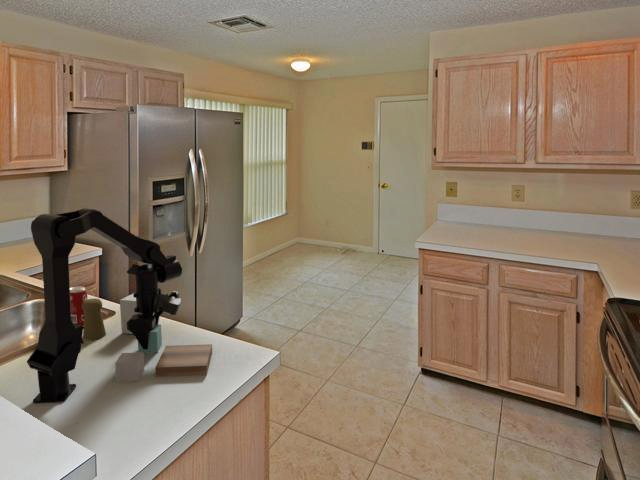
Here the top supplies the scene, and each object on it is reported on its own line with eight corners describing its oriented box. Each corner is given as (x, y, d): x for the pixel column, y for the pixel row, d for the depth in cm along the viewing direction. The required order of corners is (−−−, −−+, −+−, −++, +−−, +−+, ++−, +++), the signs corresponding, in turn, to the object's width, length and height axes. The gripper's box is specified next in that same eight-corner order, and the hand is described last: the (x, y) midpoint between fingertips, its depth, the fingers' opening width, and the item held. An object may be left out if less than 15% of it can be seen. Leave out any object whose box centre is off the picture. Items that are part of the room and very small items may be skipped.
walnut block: (206, 376, 107) (206, 365, 106) (155, 378, 105) (155, 367, 105) (212, 354, 119) (212, 344, 118) (166, 356, 117) (165, 345, 116)
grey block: (138, 381, 103) (137, 361, 102) (116, 382, 103) (115, 362, 102) (144, 370, 108) (143, 352, 107) (123, 371, 108) (121, 352, 107)
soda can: (85, 321, 138) (82, 284, 136) (92, 325, 135) (89, 288, 132) (67, 325, 134) (64, 288, 132) (74, 330, 131) (71, 292, 128)
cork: (83, 333, 129) (80, 297, 127) (106, 330, 131) (103, 295, 129) (82, 341, 124) (79, 304, 121) (106, 338, 126) (103, 301, 124)
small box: (138, 335, 128) (136, 301, 126) (121, 333, 130) (118, 299, 127) (153, 325, 136) (151, 292, 134) (137, 323, 137) (135, 291, 135)
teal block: (157, 352, 118) (156, 331, 117) (138, 353, 117) (137, 332, 116) (161, 344, 123) (160, 324, 122) (143, 345, 122) (142, 325, 121)
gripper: (171, 298, 109) (173, 356, 112) (184, 276, 127) (185, 327, 130) (124, 299, 107) (128, 357, 110) (143, 277, 125) (146, 328, 128)
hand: (149, 341), depth 120 cm, fingers open, 9 cm apart
